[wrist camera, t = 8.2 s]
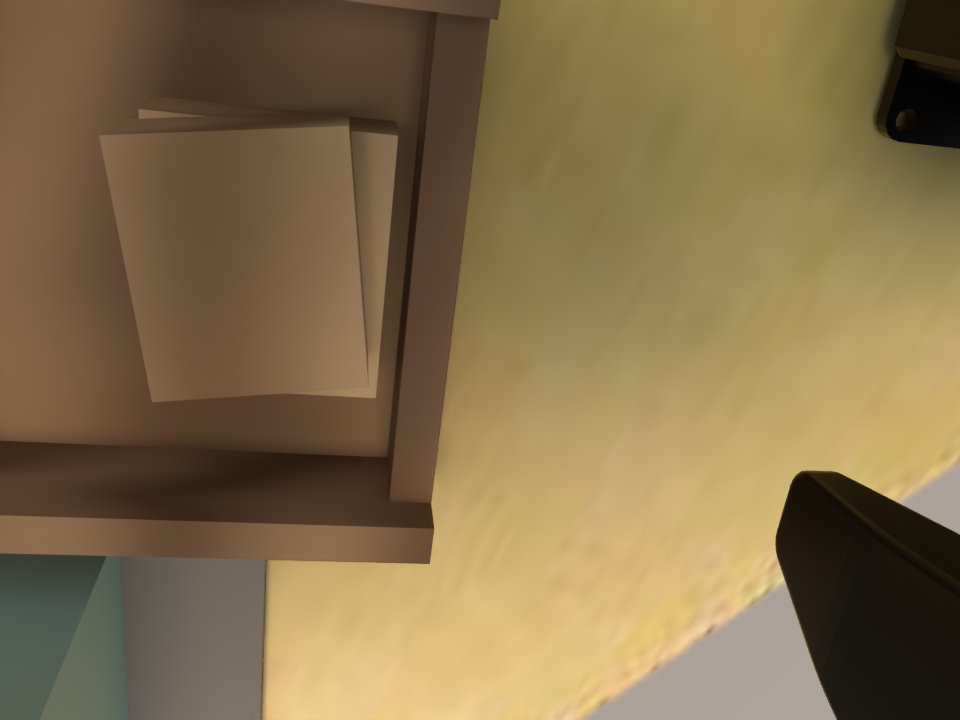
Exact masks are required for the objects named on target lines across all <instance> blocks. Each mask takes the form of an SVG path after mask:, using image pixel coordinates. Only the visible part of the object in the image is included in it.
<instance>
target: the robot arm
mask: <svg viewBox="0 0 960 720" xmlns="http://www.w3.org/2000/svg"><path fill="white" fill-rule="evenodd" d="M895 46H896V49H897V53H896V56H895V60H894V63H893V66H892V69H891V73H890V76H889V79H888V82H887V86H886V89H885V92H884V95H883V99H882V102H881V105H880V108H879V112H878V115H877V127H878V130H879V132H880V133H881V134H882V135H883V136H885V137H888V138H890V139H893V140H896V141H898V142H906V143H915V144H924V145H933V146H941V147H950V148H959V149H960V0H908V2H907V6H906V9H905V12H904V16H903V19H902V22H901V25H900V29H899V32H898V35H897V38H896V42H895ZM903 110H906V111H907V119H906V120H905V122H904V124H902V125H901V126H900V127H896V118H897V116H898V115H899V113H900V112H902V111H903ZM776 553H777V557H778V561H779V564H780V567H781V570H782V573H783V576H784V579H785V582H786V585H787V588H788V591H789V594H790V597H791V600H792V603H793V606H794V609H795V612H796V614H797V618H798V620H799V624H800V626H801V629H802V632H803V635H804V638H805V641H806V644H807V647H808V650H809V653H810V656H811V659H812V662H813V664H814V667H815V670H816V673H817V675H818V678H819V681H820V683H821V685H822V687H823V690H824V692H825V695H826V697H827V699H828V702H829V704H830V706H831V708H832V710H833V713H834V715H835V717H836V719H837V720H960V535H959V534H958V533H956V532H954V531H952V530H950V529H948V528H946V527H944V526H942V525H940V524H938V523H936V522H934V521H932V520H930V519H929V518H927V517H925V516H923V515H921V514H919V513H917V512H915V511H913V510H911V509H909V508H907V507H905V506H903V505H901V504H899V503H897V502H895V501H893V500H891V499H889V498H887V497H885V496H884V495H882V494H880V493H878V492H876V491H874V490H872V489H870V488H868V487H866V486H864V485H862V484H860V483H858V482H856V481H854V480H852V479H850V478H848V477H846V476H844V475H842V474H840V473H838V472H833V471H801V472H800V473H798V474H797V475H796V476H795V477H794V479H793V480H792V483H791V485H790V488H789V492H788V495H787V499H786V502H785V505H784V509H783V512H782V516H781V519H780V523H779V526H778V529H777V534H776Z"/></svg>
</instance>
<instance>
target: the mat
mask: <svg viewBox="0 0 960 720" xmlns="http://www.w3.org/2000/svg"><path fill="white" fill-rule="evenodd" d="M119 558H120V575H121V593H122V610H123V628H124V646H125V663H126V681H127V698H128V716H129V720H262V692H263V658H264V625H265V592H266V560H254V559H213V558H173V557H132V556H119Z"/></svg>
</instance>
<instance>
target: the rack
mask: <svg viewBox="0 0 960 720" xmlns="http://www.w3.org/2000/svg"><path fill="white" fill-rule="evenodd" d="M499 8H500V0H0V553H10V554H50V555H91V556H132V557H173V558H213V559H254V560H295V561H336V562H376V563H417V564H430V557H431V549H432V541H433V533H434V524H433V516H432V508H431V500H432V491H433V483H434V475H435V467H436V459H437V450H438V442H439V434H440V426H441V418H442V409H443V401H444V393H445V385H446V377H447V368H448V360H449V352H450V344H451V336H452V328H453V319H454V311H455V303H456V295H457V287H458V278H459V270H460V262H461V254H462V246H463V237H464V229H465V221H466V213H467V205H468V197H469V188H470V180H471V172H472V164H473V156H474V147H475V139H476V131H477V123H478V115H479V106H480V98H481V90H482V82H483V74H484V65H485V57H486V49H487V41H488V33H489V25H490V19H495V20H498V16H499ZM154 96H157V97H167V98H176V99H186V100H195V101H205V102H215V103H224V104H234V105H243V106H253V107H262V108H272V109H281V110H291V111H300V112H310V113H313V112H342V111H349V112H350V117H357V118H367V119H376V120H386V121H395V122H396V126H397V132H398V143H397V155H396V167H395V178H394V190H393V202H392V214H391V225H390V237H389V249H388V260H387V272H386V284H385V295H384V307H383V319H382V330H381V342H380V354H379V365H378V377H377V389H376V398H362V397H344V396H326V395H307V394H289V393H283V394H268V395H253V396H238V397H223V398H208V399H193V400H178V401H164V402H152V399H151V394H150V389H149V386H148V379H147V374H146V369H145V364H144V359H143V354H142V349H141V344H140V339H139V334H138V329H137V324H136V319H135V313H134V308H133V303H132V298H131V293H130V288H129V283H128V278H127V273H126V268H125V263H124V258H123V253H122V248H121V243H120V238H119V233H118V228H117V223H116V218H115V213H114V208H113V203H112V198H111V193H110V188H109V183H108V178H107V173H106V168H105V163H104V158H103V153H102V148H101V143H100V138H99V135H100V134H101V133H103V132H104V131H105V130H106V129H108V128H109V127H110V126H112V125H113V124H114V123H116V122H117V121H118V120H119V119H139V111H138V109H139V108H140V107H142V106H143V105H144V104H145V103H147V102H148V101H149V100H151V99H152V98H153V97H154Z"/></svg>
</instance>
